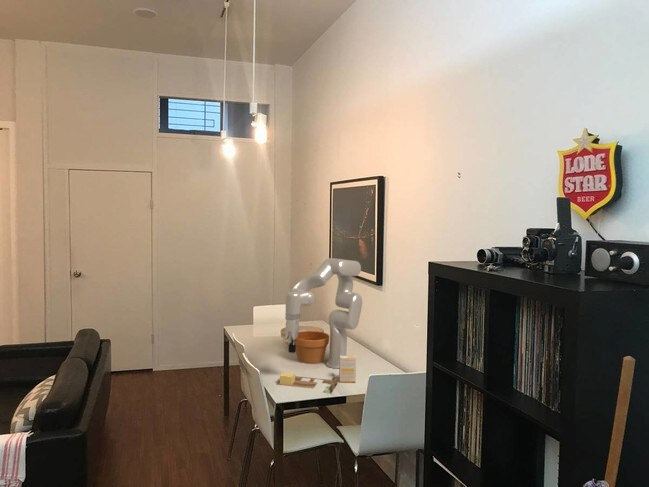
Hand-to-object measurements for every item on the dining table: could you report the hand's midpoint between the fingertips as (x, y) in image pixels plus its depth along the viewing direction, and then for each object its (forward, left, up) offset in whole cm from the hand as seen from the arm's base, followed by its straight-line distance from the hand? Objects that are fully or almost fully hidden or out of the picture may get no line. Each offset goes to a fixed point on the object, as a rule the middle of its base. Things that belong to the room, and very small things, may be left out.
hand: (292, 352), depth 259 cm
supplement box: (-8, +28, -15) cm, 32 cm away
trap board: (+5, +10, -15) cm, 18 cm away
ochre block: (+8, 0, -13) cm, 15 cm away
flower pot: (-38, +1, -15) cm, 41 cm away
